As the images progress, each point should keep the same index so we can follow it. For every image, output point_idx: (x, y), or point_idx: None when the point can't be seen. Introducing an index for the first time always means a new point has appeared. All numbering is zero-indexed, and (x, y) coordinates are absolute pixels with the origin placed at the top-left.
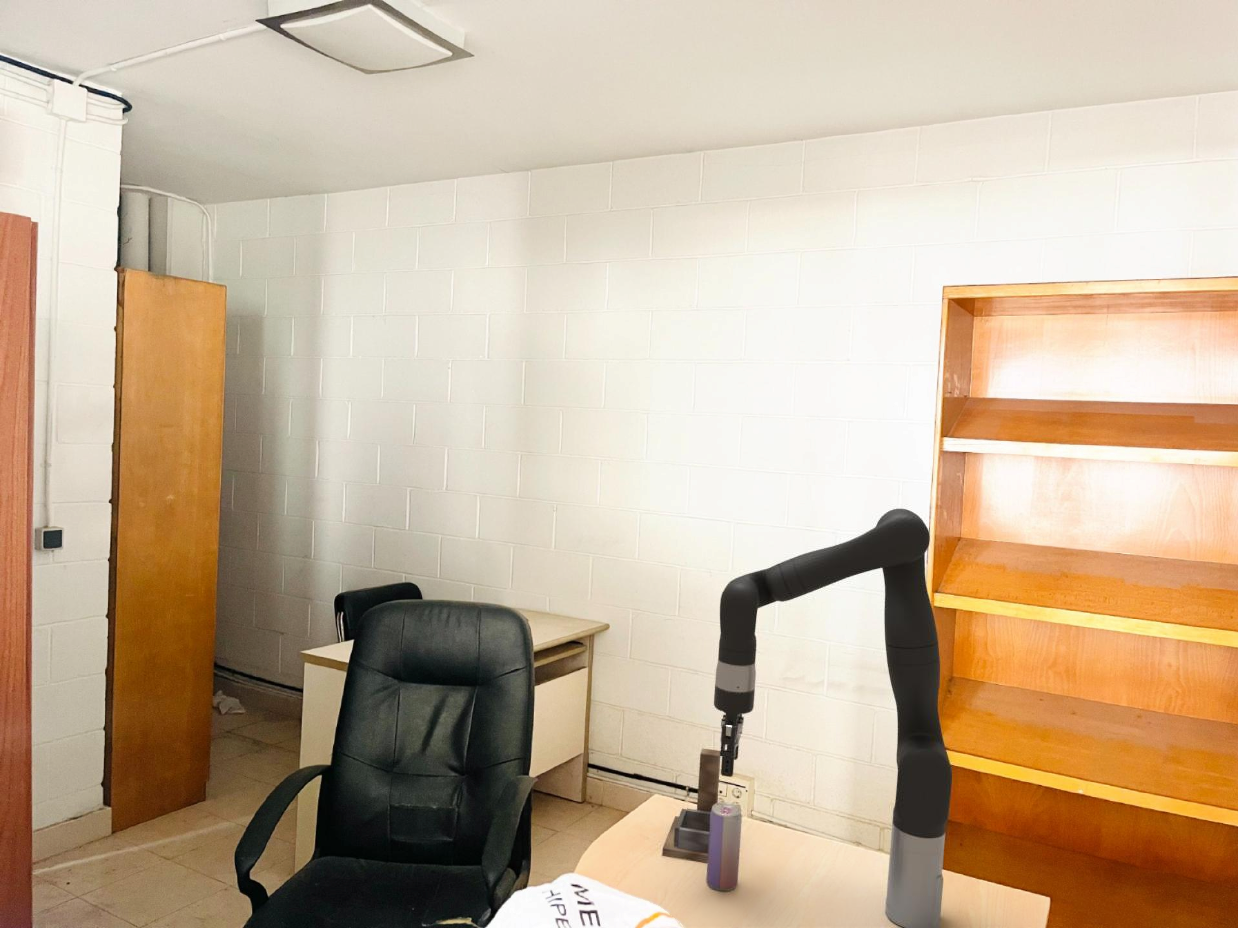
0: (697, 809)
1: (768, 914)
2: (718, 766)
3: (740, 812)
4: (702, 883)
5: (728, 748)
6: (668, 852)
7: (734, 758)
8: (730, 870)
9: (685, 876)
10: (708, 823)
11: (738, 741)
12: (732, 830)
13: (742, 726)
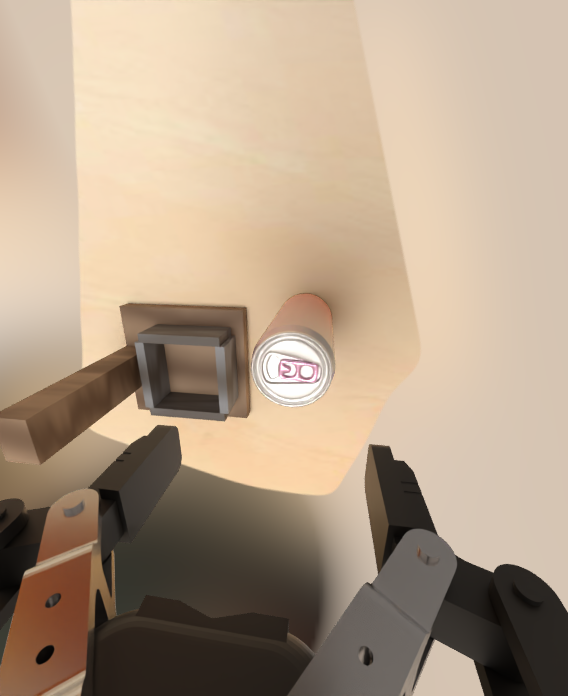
0: (136, 388)
1: (384, 229)
2: (51, 403)
3: (301, 333)
4: None
5: (156, 494)
6: (248, 406)
7: (176, 436)
8: (327, 312)
9: None
10: (157, 362)
11: (415, 648)
12: (329, 338)
13: (33, 614)
